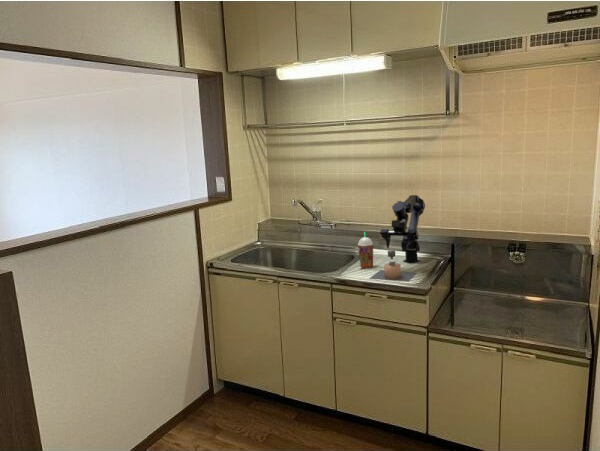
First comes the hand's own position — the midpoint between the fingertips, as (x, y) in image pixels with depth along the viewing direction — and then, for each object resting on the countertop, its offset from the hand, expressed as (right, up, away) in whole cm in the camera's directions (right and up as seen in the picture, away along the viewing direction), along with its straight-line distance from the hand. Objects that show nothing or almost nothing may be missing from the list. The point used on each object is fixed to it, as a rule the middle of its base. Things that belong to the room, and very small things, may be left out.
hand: (396, 248), depth 227 cm
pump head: (-4, -5, -7) cm, 10 cm away
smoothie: (-12, -12, +18) cm, 25 cm away
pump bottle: (-3, -14, -5) cm, 15 cm away
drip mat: (-2, -14, -2) cm, 15 cm away
